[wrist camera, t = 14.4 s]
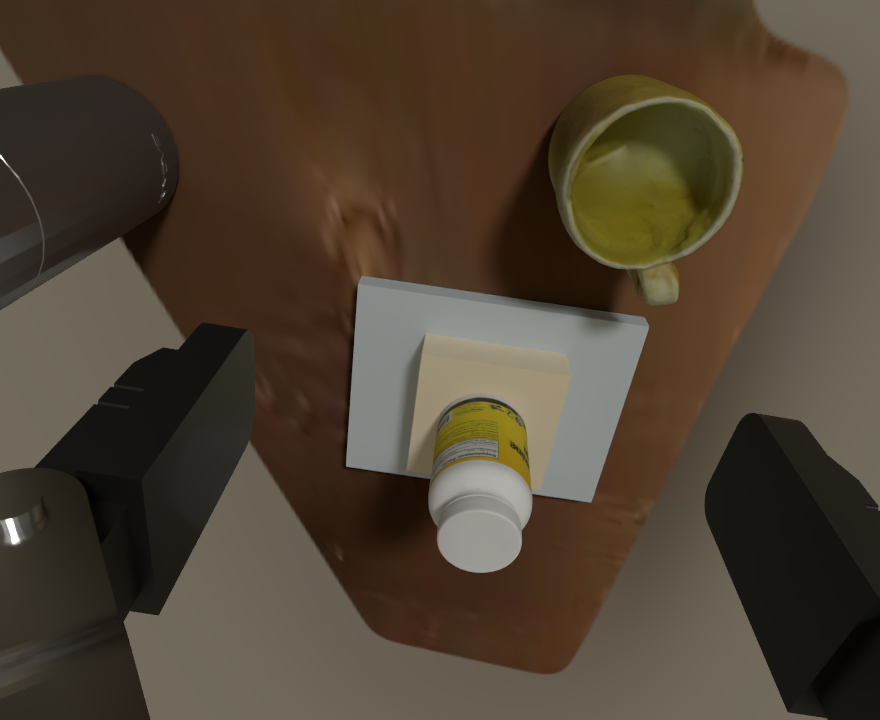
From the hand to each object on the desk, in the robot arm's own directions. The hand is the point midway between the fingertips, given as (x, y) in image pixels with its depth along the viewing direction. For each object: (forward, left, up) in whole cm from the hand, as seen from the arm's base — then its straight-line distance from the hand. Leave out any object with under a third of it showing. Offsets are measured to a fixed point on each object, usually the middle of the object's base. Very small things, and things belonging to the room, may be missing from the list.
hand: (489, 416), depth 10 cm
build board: (+3, -19, -32) cm, 37 cm away
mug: (+9, -2, -32) cm, 33 cm away
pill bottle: (+3, -19, -28) cm, 34 cm away
